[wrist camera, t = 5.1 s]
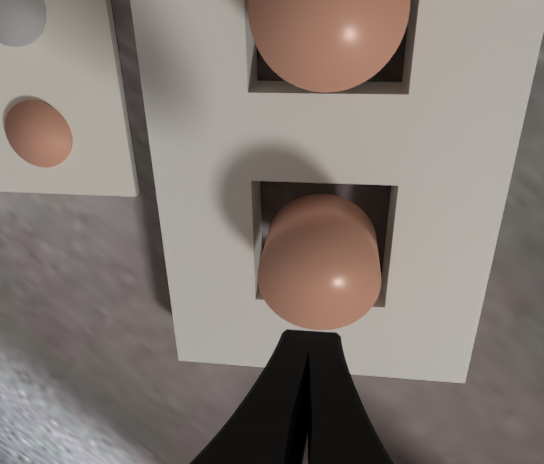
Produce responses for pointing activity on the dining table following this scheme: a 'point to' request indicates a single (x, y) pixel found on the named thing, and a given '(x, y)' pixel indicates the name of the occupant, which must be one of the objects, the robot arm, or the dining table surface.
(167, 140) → the button board
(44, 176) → the pattern card
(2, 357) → the dining table surface
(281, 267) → the button
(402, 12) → the button
